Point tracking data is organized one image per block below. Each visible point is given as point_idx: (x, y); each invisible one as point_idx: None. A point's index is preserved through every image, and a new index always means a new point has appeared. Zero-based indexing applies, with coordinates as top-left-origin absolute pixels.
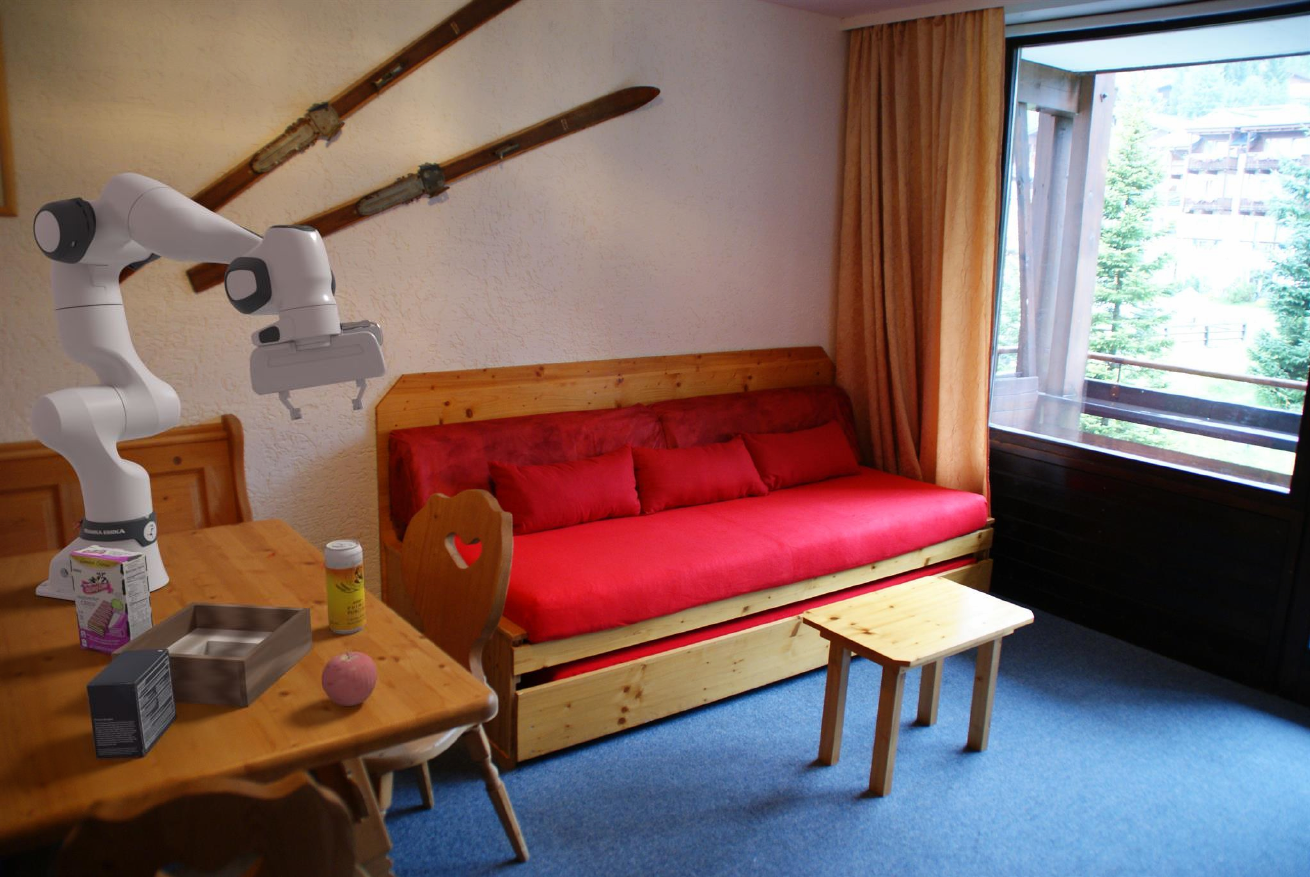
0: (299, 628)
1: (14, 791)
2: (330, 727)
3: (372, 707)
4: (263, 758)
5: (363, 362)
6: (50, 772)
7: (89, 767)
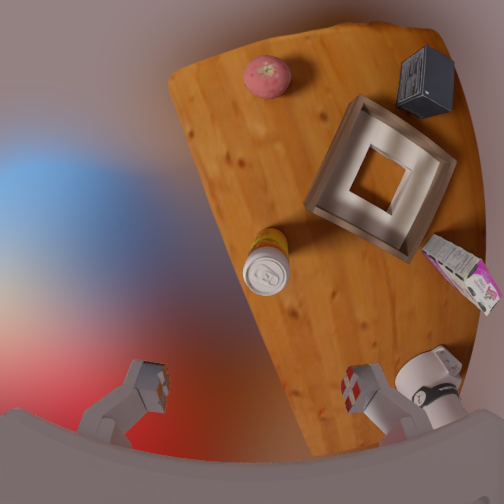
0: (316, 185)
1: None
2: (283, 52)
3: None
4: (326, 29)
5: (37, 480)
6: None
7: None
